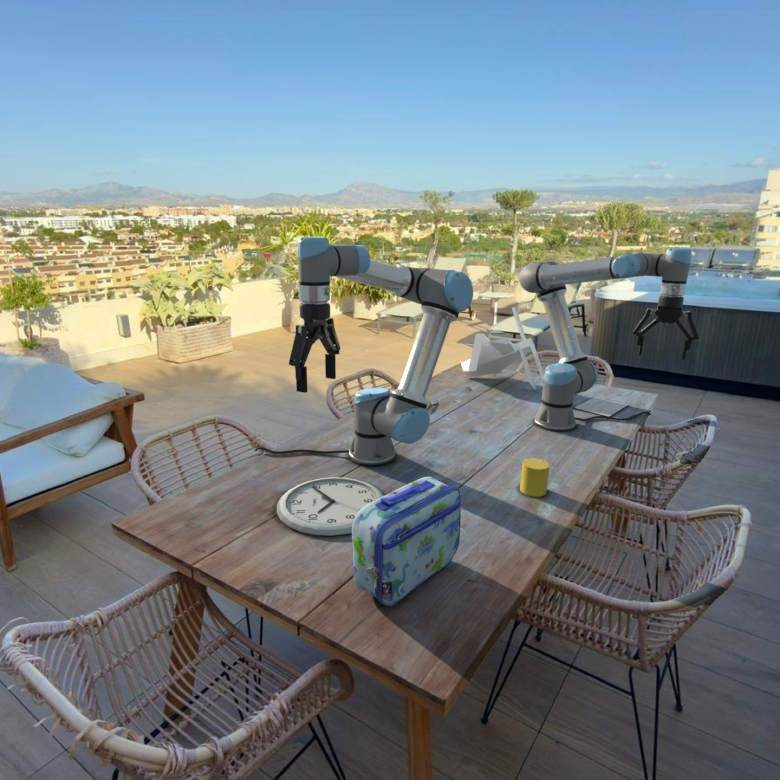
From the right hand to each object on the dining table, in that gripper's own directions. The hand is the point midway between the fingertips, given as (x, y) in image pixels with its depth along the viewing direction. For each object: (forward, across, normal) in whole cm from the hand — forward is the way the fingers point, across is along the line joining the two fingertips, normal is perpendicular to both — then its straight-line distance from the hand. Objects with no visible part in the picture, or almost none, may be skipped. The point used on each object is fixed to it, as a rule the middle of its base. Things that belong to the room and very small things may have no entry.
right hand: (661, 356), depth 183 cm
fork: (+31, -84, -1) cm, 89 cm away
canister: (+31, -32, -59) cm, 74 cm away
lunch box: (+31, -52, -111) cm, 126 cm away
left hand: (-3, -86, -90) cm, 124 cm away
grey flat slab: (+31, -17, +31) cm, 47 cm away
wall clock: (+31, -82, -91) cm, 126 cm away
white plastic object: (+31, -64, +47) cm, 85 cm away
